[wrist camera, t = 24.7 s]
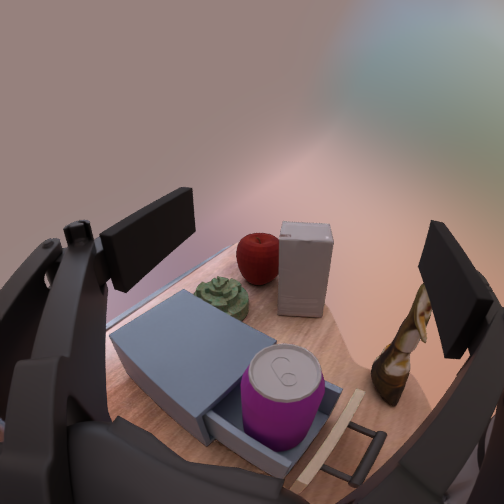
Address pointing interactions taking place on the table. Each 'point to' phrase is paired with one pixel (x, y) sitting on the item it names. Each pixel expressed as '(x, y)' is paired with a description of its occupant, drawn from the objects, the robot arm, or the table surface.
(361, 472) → the drawer
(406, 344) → the figurine
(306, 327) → the table surface
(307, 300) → the cosmetic box
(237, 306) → the decorative artifact
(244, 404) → the beverage can
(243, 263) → the apple
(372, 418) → the table surface
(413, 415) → the table surface
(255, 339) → the cabinet
